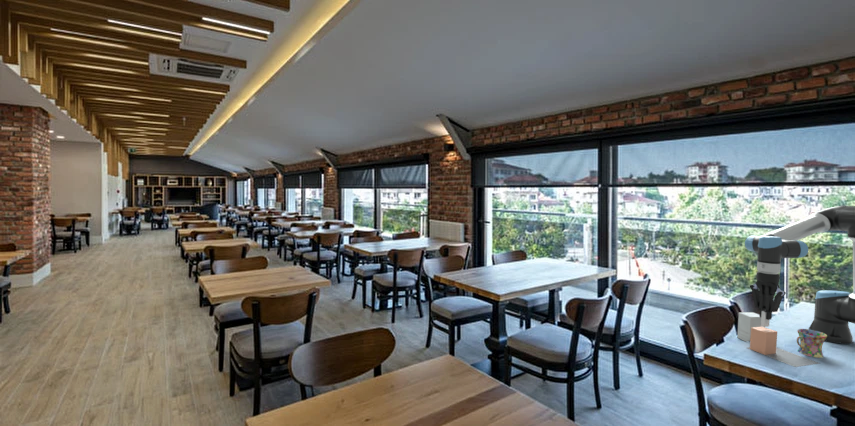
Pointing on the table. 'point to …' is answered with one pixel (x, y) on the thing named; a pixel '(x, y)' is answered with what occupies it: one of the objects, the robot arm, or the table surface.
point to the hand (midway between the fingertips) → (764, 325)
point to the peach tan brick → (763, 340)
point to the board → (790, 358)
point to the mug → (811, 342)
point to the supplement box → (747, 324)
